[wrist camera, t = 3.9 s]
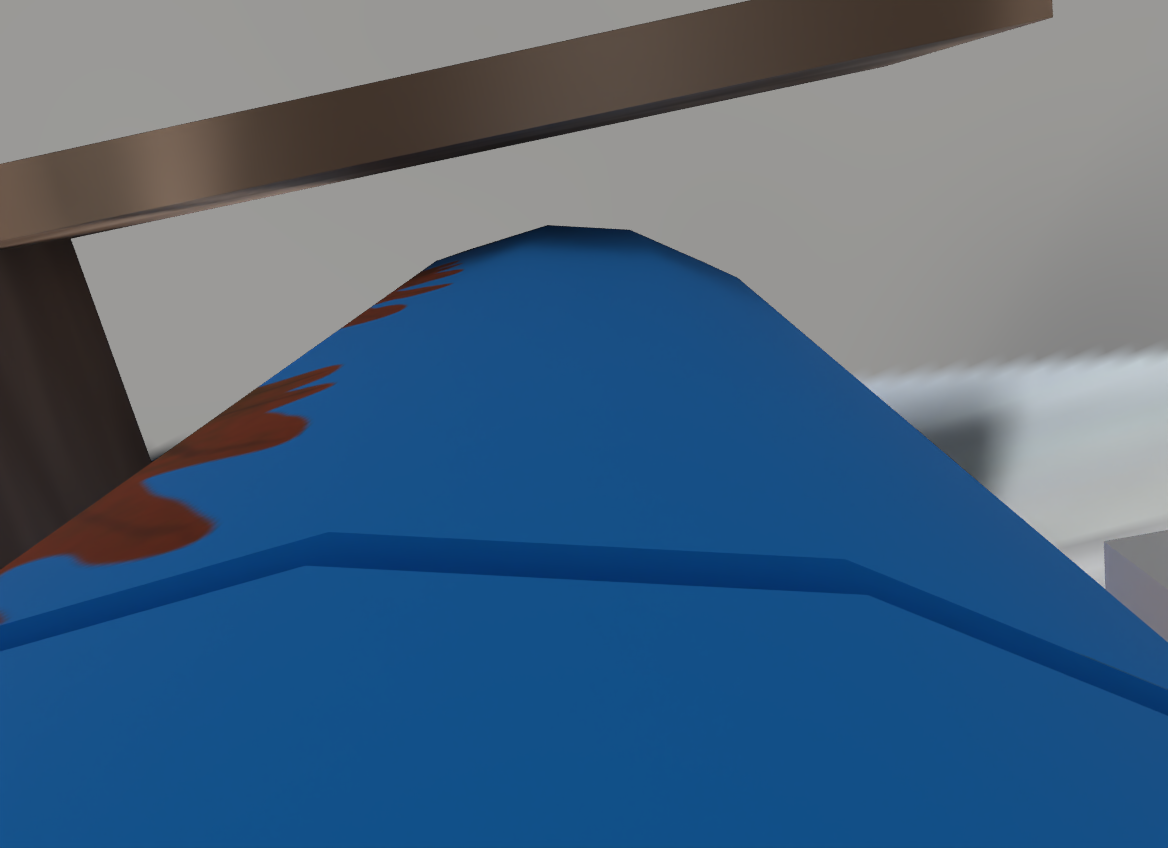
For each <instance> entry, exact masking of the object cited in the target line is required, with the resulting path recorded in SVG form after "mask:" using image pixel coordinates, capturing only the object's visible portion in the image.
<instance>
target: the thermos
mask: <svg viewBox="0 0 1168 848" xmlns="http://www.w3.org/2000/svg"><path fill="white" fill-rule="evenodd" d="M0 848H1168V642H1167V641H1166V640H1164V639H1163V638H1162V637H1161V636H1160V635H1159V634H1157V633H1156V632H1155V631H1154V630H1153V629H1151V628H1150V627H1149V626H1148V625H1147V624H1146V623H1144V622H1143V621H1142V620H1141V619H1140V618H1138V617H1137V616H1136V615H1135V614H1134V613H1133V612H1131V611H1130V610H1129V609H1128V608H1127V607H1125V606H1124V605H1123V604H1122V603H1121V602H1120V601H1118V600H1117V599H1116V598H1115V597H1114V596H1113V595H1111V594H1110V593H1109V592H1108V591H1107V590H1105V589H1104V588H1103V587H1102V586H1101V585H1100V584H1098V583H1097V582H1096V581H1095V580H1094V579H1092V578H1091V577H1090V576H1089V575H1088V574H1087V573H1085V572H1084V571H1083V570H1082V569H1081V568H1079V567H1078V566H1077V565H1076V564H1075V563H1074V562H1072V561H1071V560H1070V559H1069V558H1068V557H1066V556H1065V555H1064V554H1063V553H1062V552H1061V551H1059V550H1058V549H1057V548H1056V547H1055V546H1054V545H1052V544H1051V543H1050V542H1049V541H1048V540H1046V539H1045V538H1044V537H1043V536H1042V535H1041V534H1039V533H1038V532H1037V531H1036V530H1035V529H1033V528H1032V527H1031V526H1030V525H1029V524H1028V523H1026V522H1025V521H1024V520H1023V519H1022V518H1020V517H1019V516H1018V515H1017V514H1016V513H1015V512H1013V511H1012V510H1011V509H1010V508H1009V507H1007V506H1006V505H1005V504H1004V503H1003V502H1002V501H1000V500H999V499H998V498H997V497H996V496H995V495H993V494H992V493H991V492H990V491H989V490H987V489H986V488H985V487H984V486H983V485H982V484H980V483H979V482H978V481H977V480H976V479H974V478H973V477H972V476H971V475H970V474H969V473H967V472H966V471H965V470H964V469H963V468H961V467H960V466H959V465H958V464H957V463H956V462H954V461H953V460H952V459H951V458H950V457H948V456H947V455H946V454H945V453H944V452H943V451H941V450H940V449H939V448H938V447H937V446H935V445H934V444H933V443H932V442H931V441H930V440H928V439H927V438H926V437H925V436H924V435H923V434H921V433H920V432H919V431H918V430H917V429H915V428H914V427H913V426H912V425H911V424H910V423H908V422H907V421H906V420H905V419H904V418H902V417H901V416H900V415H899V414H898V413H897V412H895V411H894V410H893V409H892V408H891V407H889V406H888V405H887V404H886V403H885V402H884V401H882V400H881V399H880V398H879V397H878V396H876V395H875V394H874V393H873V392H872V391H871V390H869V389H868V388H867V387H866V386H865V385H864V384H862V383H861V382H860V381H859V380H858V379H856V378H855V377H854V376H853V375H852V374H851V373H849V372H848V371H847V370H845V368H843V367H842V366H841V365H840V364H838V362H836V361H835V360H834V359H833V358H832V357H830V356H829V355H828V354H827V353H826V352H825V351H823V350H822V349H821V348H820V347H819V346H817V345H816V344H815V343H814V342H813V341H812V340H810V339H809V338H808V337H807V336H806V335H805V334H803V333H802V332H801V331H800V330H799V329H797V328H796V327H795V326H794V325H793V324H791V323H790V322H789V321H788V320H787V319H786V318H784V317H783V316H782V315H781V314H780V313H779V312H777V311H776V310H775V309H774V308H773V307H771V306H770V305H769V304H768V303H767V302H766V301H764V300H763V299H762V298H761V297H760V296H758V295H757V294H756V293H755V292H754V291H752V290H751V289H750V288H749V287H748V286H746V285H745V284H744V283H743V282H742V281H741V280H740V279H738V278H737V277H734V276H732V275H730V274H728V273H726V272H724V271H722V270H719V269H717V268H715V267H713V266H711V265H708V264H706V263H704V262H702V261H700V260H697V259H695V258H693V257H690V256H688V255H686V254H684V253H681V252H679V251H677V250H674V249H672V248H670V247H668V246H665V245H663V244H661V243H658V242H656V241H654V240H652V239H649V238H647V237H645V236H643V235H640V234H638V233H635V232H633V231H631V230H621V229H605V228H587V227H569V226H551V225H547V226H544V227H540V228H537V229H534V230H531V231H528V232H524V233H521V234H518V235H515V236H511V237H508V238H505V239H502V240H499V241H495V242H493V243H489V244H486V245H483V246H480V247H476V248H473V249H470V250H467V251H464V252H461V253H458V254H455V255H453V256H449V257H446V258H444V259H441V260H438V261H436V262H434V263H433V264H431V265H430V266H428V267H427V268H426V269H424V270H423V271H421V272H420V273H419V274H417V275H416V276H414V277H413V278H412V279H410V280H409V281H407V282H406V283H404V284H403V285H402V286H400V287H399V288H397V289H396V290H395V291H393V292H392V293H391V294H389V295H387V296H386V297H385V298H384V299H382V300H380V301H379V302H378V303H376V304H375V305H373V306H372V307H371V308H369V309H368V310H366V311H365V312H363V313H362V314H361V315H359V316H358V317H357V318H355V319H354V320H352V321H351V322H349V323H348V324H347V325H345V326H344V327H343V328H341V329H340V330H338V331H337V332H335V333H334V334H332V335H331V336H330V337H328V338H327V339H325V340H324V341H323V342H321V343H320V344H318V345H317V346H315V347H314V348H313V349H311V350H310V351H308V352H307V353H306V354H304V355H303V356H302V357H300V358H299V359H297V360H296V361H295V362H293V363H291V364H290V365H289V366H287V367H286V368H284V369H283V370H282V371H280V372H279V373H278V374H276V375H275V376H273V377H272V378H270V379H269V380H268V381H266V382H265V383H263V384H262V385H261V386H259V387H258V388H256V389H255V390H253V391H252V392H251V393H249V394H248V395H246V396H245V397H243V398H242V399H241V400H239V401H238V402H237V403H235V404H234V405H232V406H231V407H229V408H228V409H227V410H225V411H224V412H222V413H221V414H219V415H218V416H217V417H215V418H214V419H213V420H211V421H210V422H208V423H207V424H206V425H204V426H203V427H201V428H200V429H198V430H197V431H195V432H194V433H193V434H191V435H190V436H188V437H187V438H186V439H184V440H183V441H181V442H180V443H179V444H177V445H176V446H174V447H173V448H172V449H170V450H169V451H167V452H166V453H164V454H163V455H162V456H160V457H159V458H157V459H156V460H155V461H153V462H152V463H150V464H149V465H148V466H146V467H145V468H143V469H142V470H140V471H139V472H138V473H136V474H135V475H133V476H132V477H131V478H129V479H128V480H126V481H125V482H124V483H122V484H121V485H119V486H118V487H116V488H115V489H114V490H112V491H111V492H109V493H108V494H107V495H105V496H104V497H102V498H101V499H100V500H98V501H97V502H95V503H94V504H92V505H91V506H90V507H88V508H87V509H85V510H84V511H83V512H81V513H80V514H78V515H77V516H76V517H74V518H73V519H71V520H70V521H68V522H67V523H66V524H64V525H63V526H61V527H60V528H59V529H57V530H56V531H54V532H53V533H52V534H50V535H49V536H47V537H46V538H44V539H43V540H42V541H40V542H39V543H37V544H36V545H35V546H33V547H32V548H30V549H29V550H28V551H26V552H25V553H23V554H22V555H20V556H19V557H18V558H16V559H15V560H13V561H12V562H11V563H9V564H8V565H6V566H5V567H4V568H2V569H1V570H0Z"/></svg>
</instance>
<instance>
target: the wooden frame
mask: <svg viewBox="0 0 1168 848" xmlns="http://www.w3.org/2000/svg"><path fill="white" fill-rule="evenodd" d="M1052 17H1053V10H1052V0H750V1H745V2H740V3H736V4H731V5H727V6H722V7H717V8H713V9H708V10H704V11H699V12H695V13H690V14H686V15H681V16H676V17H672V18H667V19H662V20H658V21H653V22H649V23H645V24H640V25H635V26H630V27H626V28H621V29H617V30H612V31H608V32H603V33H598V34H594V35H589V36H585V37H580V38H576V39H571V40H566V41H562V42H557V43H553V44H549V45H544V46H539V47H534V48H530V49H525V50H520V51H516V52H511V53H507V54H502V55H498V56H493V57H489V58H484V59H479V60H475V61H470V62H465V63H461V64H457V65H452V66H447V67H443V68H438V69H433V70H429V71H424V72H420V73H415V74H411V75H406V76H401V77H397V78H393V79H388V80H383V81H378V82H374V83H369V84H365V85H360V86H355V87H351V88H346V89H342V90H337V91H333V92H328V93H323V94H319V95H314V96H310V97H305V98H301V99H296V100H291V101H287V102H282V103H278V104H273V105H268V106H264V107H259V108H255V109H251V110H246V111H241V112H236V113H232V114H227V115H223V116H218V117H214V118H209V119H204V120H200V121H195V122H190V123H186V124H181V125H177V126H172V127H168V128H164V129H159V130H154V131H150V132H145V133H140V134H135V135H131V136H126V137H122V138H118V139H113V140H108V141H103V142H99V143H95V144H90V145H85V146H80V147H76V148H72V149H67V150H62V151H58V152H53V153H49V154H44V155H39V156H35V157H30V158H26V159H21V160H16V161H12V162H7V163H3V164H0V570H1V569H2V568H4V567H5V566H6V565H8V564H9V563H11V562H12V561H13V560H15V559H16V558H18V557H19V556H20V555H22V554H23V553H25V552H26V551H28V550H29V549H30V548H32V547H33V546H35V545H36V544H37V543H39V542H40V541H42V540H43V539H44V538H46V537H47V536H49V535H50V534H52V533H53V532H54V531H56V530H57V529H59V528H60V527H61V526H63V525H64V524H66V523H67V522H68V521H70V520H71V519H73V518H74V517H76V516H77V515H78V514H80V513H81V512H83V511H84V510H85V509H87V508H88V507H90V506H91V505H92V504H94V503H95V502H97V501H98V500H100V499H101V498H102V497H104V496H105V495H107V494H108V493H109V492H111V491H112V490H114V489H115V488H116V487H118V486H119V485H121V484H122V483H124V482H125V481H126V480H128V479H129V478H131V477H132V476H133V475H135V474H136V473H138V472H139V471H140V470H142V469H143V468H145V467H146V466H148V465H149V464H150V463H152V462H151V460H150V457H149V454H148V451H147V448H146V446H145V443H144V440H143V437H142V435H141V432H140V430H139V426H138V424H137V421H136V418H135V415H134V413H133V410H132V407H131V404H130V402H129V399H128V396H127V394H126V390H125V388H124V385H123V382H122V380H121V377H120V374H119V371H118V368H117V366H116V363H115V360H114V357H113V355H112V352H111V349H110V346H109V344H108V341H107V338H106V335H105V333H104V330H103V327H102V324H101V321H100V319H99V316H98V313H97V310H96V308H95V305H94V302H93V299H92V297H91V294H90V291H89V288H88V285H87V283H86V280H85V277H84V274H83V272H82V269H81V266H80V264H79V261H78V258H77V255H76V253H75V250H74V247H73V244H72V242H71V238H76V237H80V236H85V235H90V234H94V233H99V232H103V231H109V230H113V229H118V228H123V227H128V226H132V225H137V224H142V223H146V222H151V221H156V220H161V219H165V218H170V217H175V216H180V215H184V214H189V213H194V212H198V211H203V210H208V209H213V208H217V207H222V206H227V205H232V204H236V203H241V202H246V201H250V200H255V199H260V198H265V197H269V196H274V195H279V194H283V193H288V192H293V191H298V190H302V189H307V188H312V187H317V186H321V185H326V184H331V183H335V182H340V181H345V180H350V179H354V178H359V177H364V176H369V175H373V174H378V173H383V172H388V171H392V170H397V169H402V168H406V167H411V166H416V165H420V164H425V163H430V162H435V161H440V160H444V159H449V158H454V157H459V156H463V155H468V154H473V153H477V152H482V151H487V150H491V149H496V148H501V147H506V146H511V145H515V144H520V143H525V142H529V141H534V140H539V139H544V138H548V137H553V136H558V135H563V134H567V133H572V132H577V131H581V130H586V129H591V128H596V127H600V126H605V125H610V124H615V123H619V122H624V121H629V120H633V119H638V118H643V117H648V116H652V115H657V114H662V113H667V112H671V111H676V110H681V109H685V108H690V107H695V106H700V105H704V104H709V103H714V102H718V101H723V100H728V99H733V98H737V97H742V96H746V95H752V94H756V93H761V92H766V91H770V90H775V89H780V88H784V87H790V86H794V85H799V84H804V83H808V82H813V81H818V80H822V79H827V78H832V77H836V76H841V75H846V74H851V73H855V72H860V71H865V70H870V69H874V68H879V67H884V66H888V65H891V64H895V63H898V62H901V61H905V60H908V59H912V58H915V57H919V56H922V55H925V54H929V53H932V52H936V51H939V50H943V49H946V48H949V47H953V46H956V45H959V44H963V43H967V42H970V41H973V40H976V39H980V38H984V37H987V36H990V35H994V34H997V33H1001V32H1004V31H1007V30H1011V29H1014V28H1018V27H1021V26H1024V25H1028V24H1031V23H1035V22H1038V21H1041V20H1045V19H1049V18H1052Z"/></svg>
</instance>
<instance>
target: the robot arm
mask: <svg viewBox="0 0 1168 848" xmlns="http://www.w3.org/2000/svg"><path fill="white" fill-rule="evenodd" d="M1104 556H1105V586H1106V590H1107V591H1108V592H1109V593H1110V594H1111V595H1113V596H1114V597H1115V598H1116V599H1117V600H1118V601H1120V602H1121V603H1122V604H1123V605H1124V606H1125V607H1127V608H1128V609H1129V610H1130V611H1131V612H1133V613H1134V614H1135V615H1136V616H1137V617H1138V618H1140V619H1141V620H1142V621H1143V622H1144V623H1146V624H1147V625H1148V626H1149V627H1150V628H1151V629H1153V630H1154V631H1155V632H1156V633H1157V634H1159V635H1160V636H1161V637H1162V638H1163V639H1164V640H1166V641H1167V642H1168V530H1166V531H1160V532H1155V533H1149V534H1143V535H1138V536H1132V537H1126V538H1121V539H1115V540H1109V541H1104Z"/></svg>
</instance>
